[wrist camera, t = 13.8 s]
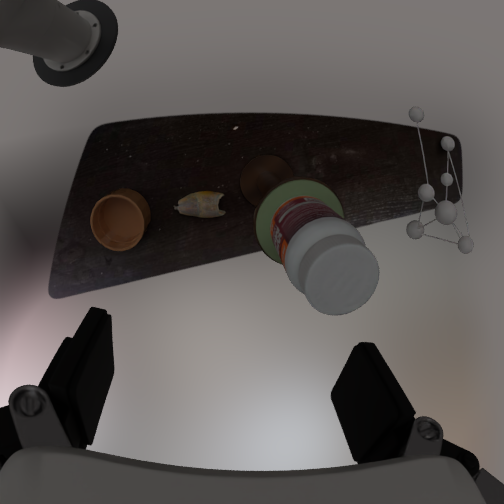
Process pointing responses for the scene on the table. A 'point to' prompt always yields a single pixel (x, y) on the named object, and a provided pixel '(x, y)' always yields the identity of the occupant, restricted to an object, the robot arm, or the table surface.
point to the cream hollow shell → (201, 204)
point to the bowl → (120, 219)
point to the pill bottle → (323, 255)
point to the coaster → (281, 196)
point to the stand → (267, 181)
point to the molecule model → (444, 209)
